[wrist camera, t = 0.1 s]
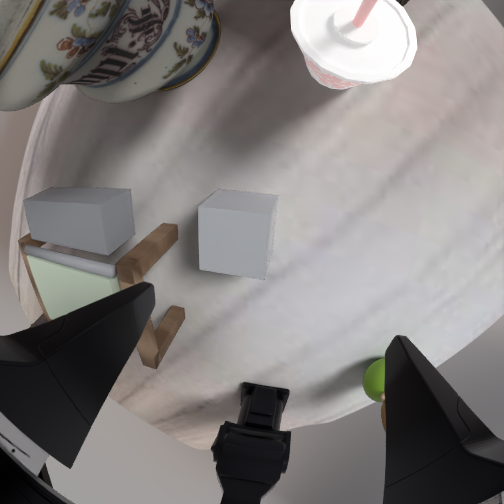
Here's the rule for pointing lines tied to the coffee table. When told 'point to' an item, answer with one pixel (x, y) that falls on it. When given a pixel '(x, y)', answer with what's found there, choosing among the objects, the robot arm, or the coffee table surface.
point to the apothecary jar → (102, 47)
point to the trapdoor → (76, 243)
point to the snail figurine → (376, 385)
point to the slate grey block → (237, 232)
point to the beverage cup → (353, 40)
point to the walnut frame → (130, 274)
